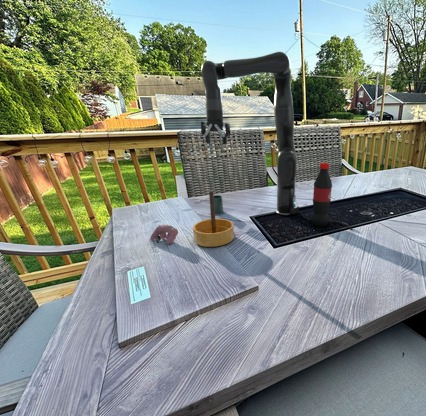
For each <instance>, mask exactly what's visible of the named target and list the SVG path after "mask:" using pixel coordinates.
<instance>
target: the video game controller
mask: <svg viewBox="0 0 426 416" xmlns="http://www.w3.org/2000/svg"><path fill="white" fill-rule="evenodd" d="M178 235H179V230H178V229H177V228H175V227H174V226H173V225H170V224H159V225H157V226H156V228H155V229H154V230H153V232H152V233H151V235H150V240H151V241H154V240H156V239H157V238H160V239H164V240H165V239H166V240H167V241H166V243H167V245H171V244H172V243H174V241H175V239H176V237H177V236H178Z"/></svg>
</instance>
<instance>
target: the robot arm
mask: <svg viewBox="0 0 426 416" xmlns="http://www.w3.org/2000/svg"><path fill="white" fill-rule="evenodd" d="M200 70H201V78H202V82H203V85H204V91H205V114H206V121H203V120H202V121H201V122H200V134H201V135H203V136H204V137H205V143H206V144H207V145H210V144H211V136H210V134H211V133H212V132H217V133H219V134H220V135H221V136H222V145H223V146H226V145H227V143H228V137H229V136H231V135H232V134H231V125H230V122H224V111H223V108H224V107H223V102H222V88H221V86H219V81H220V80H226V79H229V78H230V79H231V78H244V77H248V76H252V75H257V74H273V79H274V80H273V81H274V99H273V116H274V124H275V129H276V134H277V139H278V155H277V163H276V164H277V169H276V171H277V173H276V174H277V176H276V177H277V179H276V181H277V182H276V183H277V187H276V188H277V189H276V190H277V191H276V214H277V215H281V216H294V215H295V214H297V213H299V214H300V215H301V217H302V218H303V219H306V220H308V221H311V222H312V218H308V217H307V216H305V215H304V214H303V212H302V211H300V206H299V205H296V201H297V199H296V197H297V195H296V178H297V156H296V151H295V145H294V127H295V116H294V115H295V113H294V102H293V95H292V89H291V88H292V87H291V85H292V84H291V79H292V76H291V75H292V62H291V59H290V57H289V56H288V55H287V53H286V52H283V51H274V52H272V53H269V54H265V55H262V56H255V57H249V58H239V59H238V58H237V59H228V60H225V61H223V62H215V61H211V60H205V61H204V62H203V63H202V64H201V69H200ZM223 127H224V128H223ZM337 221H338V220H329V222H328V223H333V224H335V223H336V224H341V225H345V224H346V225H345V226H347V225H348V226H350V225H349V224H348V223H347V222H343V221H338V222H337ZM340 222H342V223H344V224H342V223H340ZM348 226H347V227H348ZM350 227H351V226H350ZM350 227H348V229H350V231H352V232H353V231H354V229H353V228H352V227H351V228H350Z"/></svg>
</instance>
